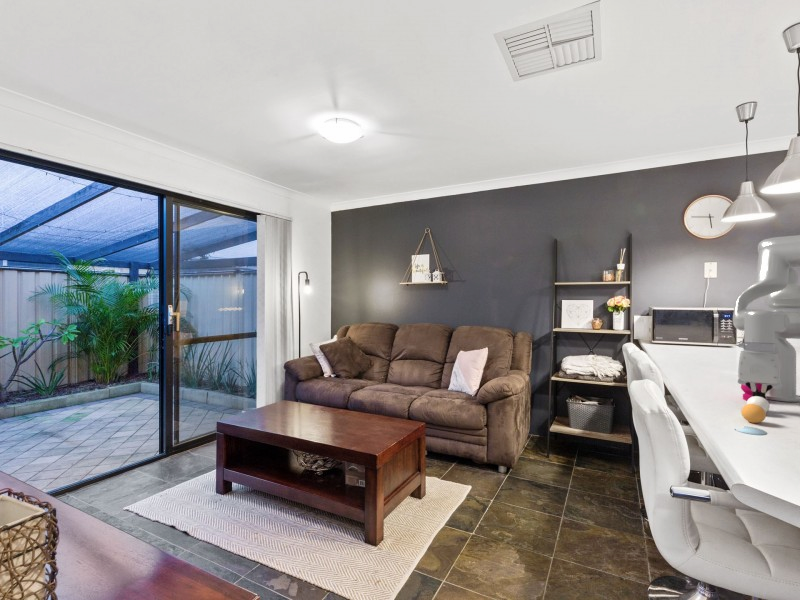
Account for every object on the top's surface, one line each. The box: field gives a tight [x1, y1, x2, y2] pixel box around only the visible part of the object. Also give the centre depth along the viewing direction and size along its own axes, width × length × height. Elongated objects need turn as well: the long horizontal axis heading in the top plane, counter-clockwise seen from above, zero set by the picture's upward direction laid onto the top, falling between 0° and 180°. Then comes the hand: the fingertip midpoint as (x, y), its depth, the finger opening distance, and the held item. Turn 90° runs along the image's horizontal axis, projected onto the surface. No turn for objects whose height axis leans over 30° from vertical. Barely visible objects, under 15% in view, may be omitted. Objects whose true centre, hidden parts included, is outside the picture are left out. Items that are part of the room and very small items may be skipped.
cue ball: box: [746, 396, 770, 414], centre depth 128 cm, size 6×6×6 cm
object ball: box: [740, 403, 767, 424], centre depth 119 cm, size 6×6×6 cm
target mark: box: [735, 425, 767, 436], centre depth 112 cm, size 7×7×1 cm
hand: (758, 403), depth 131 cm, fingers closed
